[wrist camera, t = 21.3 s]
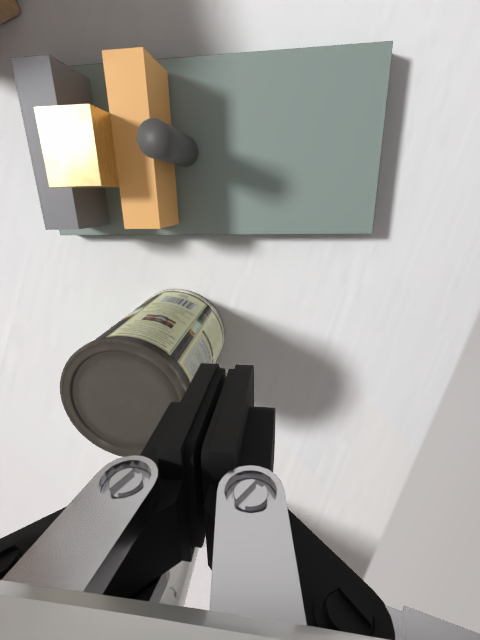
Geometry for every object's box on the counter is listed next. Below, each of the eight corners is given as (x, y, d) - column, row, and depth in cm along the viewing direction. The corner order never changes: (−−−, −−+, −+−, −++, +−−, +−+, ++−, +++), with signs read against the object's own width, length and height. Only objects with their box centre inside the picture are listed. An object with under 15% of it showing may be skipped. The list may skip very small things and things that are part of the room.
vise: (367, 231, 32) (388, 240, 25) (72, 233, 36) (21, 241, 29) (386, 51, 27) (417, 3, 21) (43, 76, 31) (-25, 43, 25)
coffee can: (151, 378, 41) (86, 464, 28) (125, 296, 38) (38, 350, 25) (234, 368, 39) (206, 455, 26) (214, 281, 36) (170, 330, 23)
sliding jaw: (204, 223, 32) (178, 231, 24) (148, 224, 32) (108, 232, 25) (196, 69, 28) (162, 25, 20) (132, 74, 28) (78, 32, 21)
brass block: (145, 187, 32) (101, 185, 24) (105, 188, 32) (49, 186, 25) (139, 126, 30) (89, 103, 22) (96, 128, 30) (34, 107, 23)
